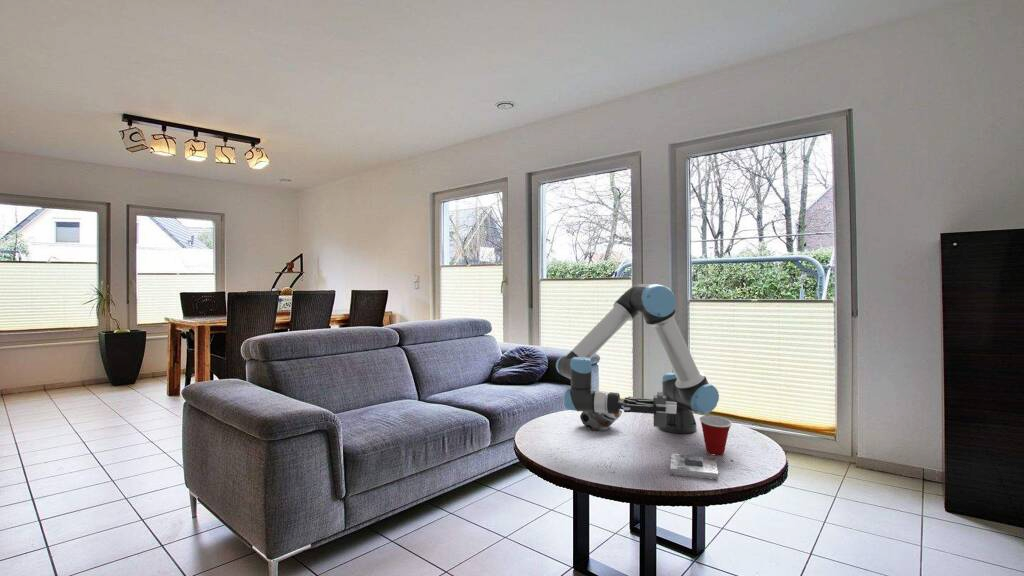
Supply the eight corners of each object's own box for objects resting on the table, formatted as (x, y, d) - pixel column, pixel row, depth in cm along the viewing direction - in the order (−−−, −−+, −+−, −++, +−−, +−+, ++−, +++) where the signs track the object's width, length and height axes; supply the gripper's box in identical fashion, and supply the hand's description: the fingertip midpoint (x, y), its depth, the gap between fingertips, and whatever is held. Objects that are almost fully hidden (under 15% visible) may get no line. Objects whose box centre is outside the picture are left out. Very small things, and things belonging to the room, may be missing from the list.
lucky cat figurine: (606, 421, 220) (620, 396, 215) (615, 440, 209) (629, 414, 204) (575, 414, 217) (588, 388, 212) (582, 432, 206) (596, 405, 201)
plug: (654, 423, 178) (654, 390, 178) (666, 424, 177) (666, 391, 176) (653, 426, 174) (653, 393, 174) (665, 427, 173) (665, 394, 173)
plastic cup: (717, 460, 173) (717, 425, 173) (692, 450, 183) (692, 417, 182) (739, 455, 178) (739, 421, 178) (714, 446, 188) (714, 414, 187)
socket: (671, 459, 174) (671, 452, 174) (715, 464, 170) (715, 456, 170) (670, 474, 161) (670, 466, 161) (718, 479, 156) (718, 471, 156)
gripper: (611, 407, 189) (677, 412, 181) (604, 419, 173) (675, 425, 165) (611, 387, 189) (677, 391, 181) (603, 397, 173) (675, 402, 165)
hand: (676, 407), depth 173 cm, fingers closed on plug, 4 cm apart
